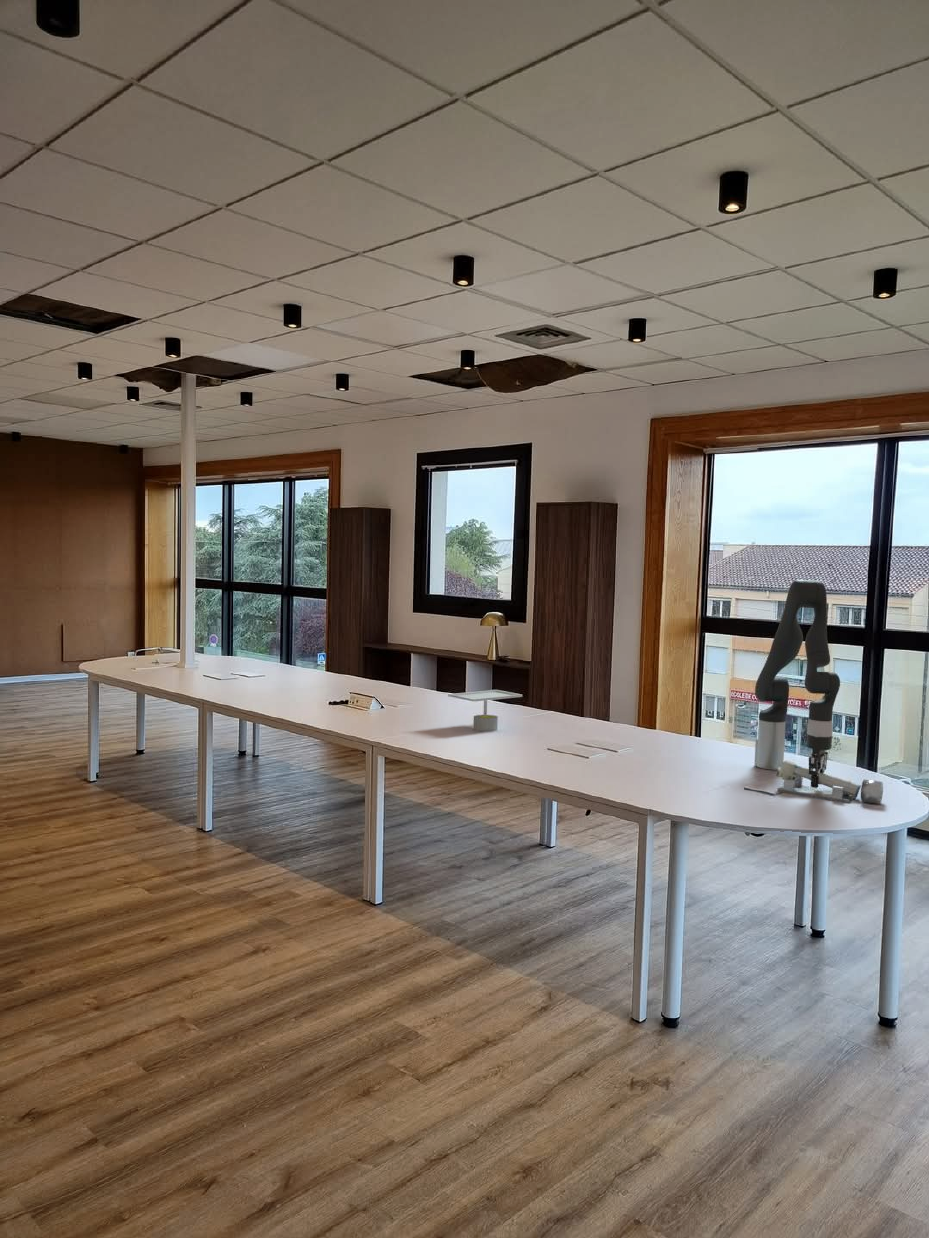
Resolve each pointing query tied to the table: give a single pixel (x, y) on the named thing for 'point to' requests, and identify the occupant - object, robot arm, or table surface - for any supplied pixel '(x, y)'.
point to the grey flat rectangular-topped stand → (485, 707)
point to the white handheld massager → (792, 770)
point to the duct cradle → (834, 791)
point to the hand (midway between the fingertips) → (816, 785)
